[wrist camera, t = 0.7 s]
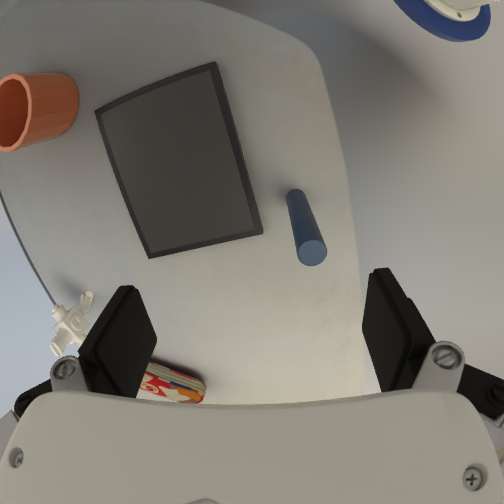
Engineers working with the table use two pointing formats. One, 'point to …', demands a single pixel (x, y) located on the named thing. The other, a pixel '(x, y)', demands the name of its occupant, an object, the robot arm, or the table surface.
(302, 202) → the stylus
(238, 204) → the tablet
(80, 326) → the toy robot
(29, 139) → the pen cup
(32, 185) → the table surface
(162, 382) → the pencil case
